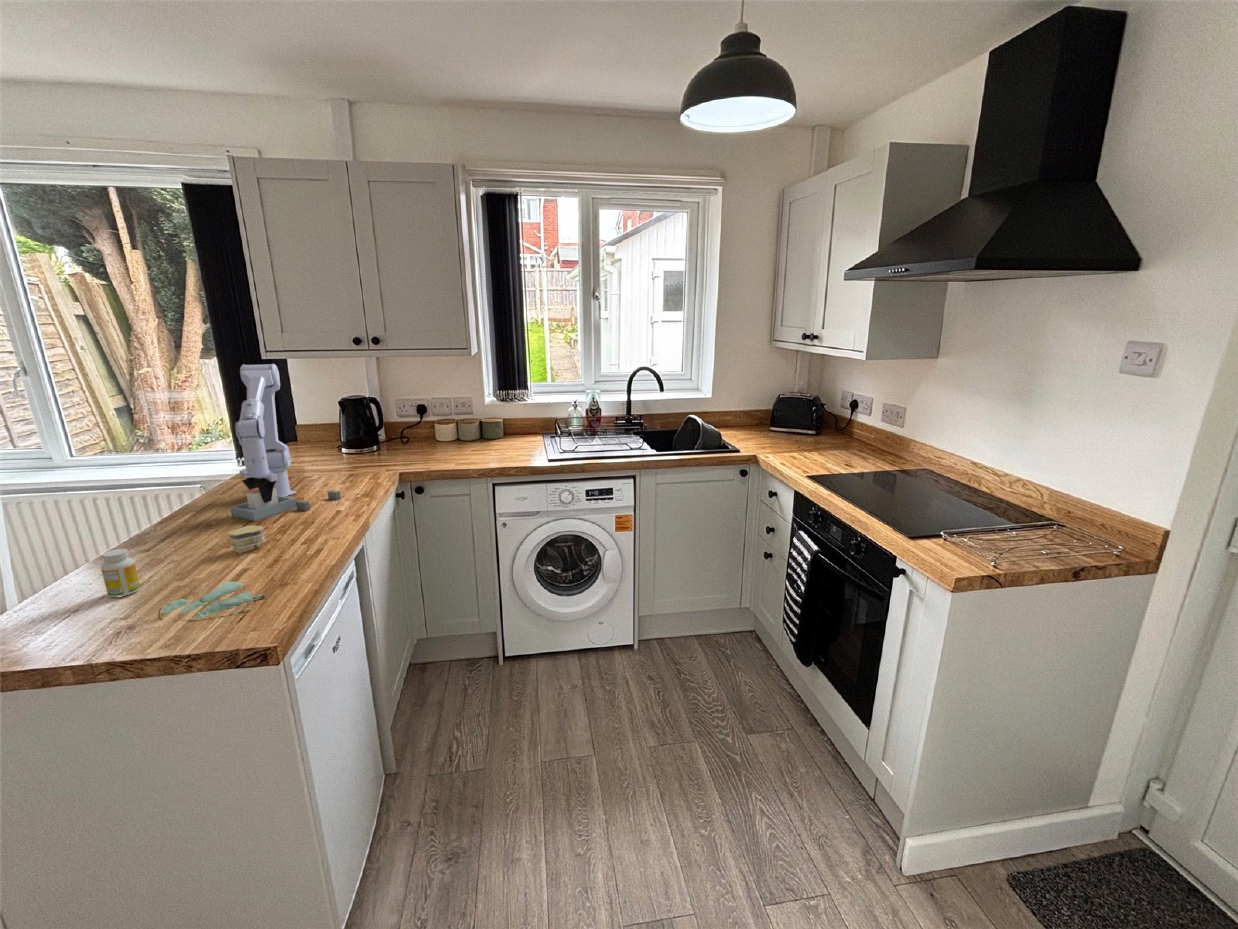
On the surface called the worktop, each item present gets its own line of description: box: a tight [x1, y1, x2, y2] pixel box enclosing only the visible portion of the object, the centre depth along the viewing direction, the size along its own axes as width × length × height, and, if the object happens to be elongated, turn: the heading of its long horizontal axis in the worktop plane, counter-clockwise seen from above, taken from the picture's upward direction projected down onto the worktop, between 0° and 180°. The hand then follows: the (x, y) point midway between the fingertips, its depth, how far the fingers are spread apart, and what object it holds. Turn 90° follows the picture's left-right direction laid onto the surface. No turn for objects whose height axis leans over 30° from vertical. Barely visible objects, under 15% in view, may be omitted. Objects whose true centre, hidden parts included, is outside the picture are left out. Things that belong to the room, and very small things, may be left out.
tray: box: [229, 495, 297, 522], centre depth 169 cm, size 11×14×3 cm
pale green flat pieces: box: [162, 580, 266, 619], centre depth 116 cm, size 20×22×2 cm
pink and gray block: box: [245, 486, 278, 509], centre depth 168 cm, size 4×7×6 cm, turn 157°
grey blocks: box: [296, 489, 342, 512], centre depth 176 cm, size 4×13×2 cm, turn 157°
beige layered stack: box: [227, 525, 267, 554], centre depth 142 cm, size 10×9×6 cm
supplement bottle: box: [100, 548, 141, 598], centre depth 118 cm, size 5×5×10 cm
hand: (263, 500), depth 169 cm, fingers closed on pink and gray block, 3 cm apart
